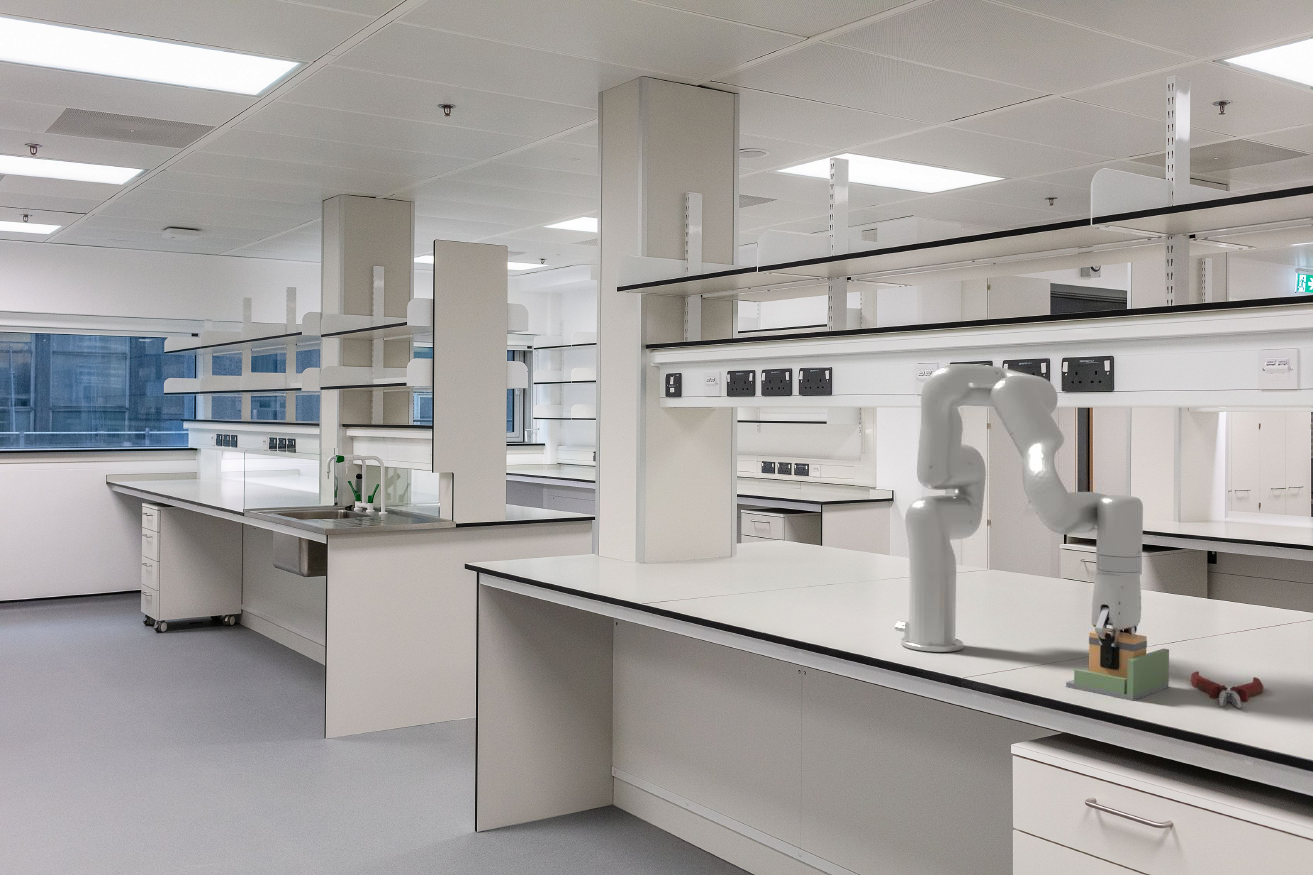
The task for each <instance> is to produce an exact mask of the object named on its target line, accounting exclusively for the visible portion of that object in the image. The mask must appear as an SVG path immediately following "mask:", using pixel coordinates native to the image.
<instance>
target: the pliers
mask: <svg viewBox="0 0 1313 875" xmlns="http://www.w3.org/2000/svg"><path fill="white" fill-rule="evenodd" d="M1190 684H1191V686H1192V687H1193V688H1195V689H1197V690H1199V691H1202V692H1204V693H1206V694H1209V698H1210V699H1218V703H1219V705H1220V708H1221V707H1222V708H1223V707H1224V706H1227V705H1226V704H1227V702H1228V703H1232V706H1234V707H1236V708H1239V709H1241V708H1242V703H1241V702H1243V703H1247V702H1249V698H1253V697H1256V696H1259V695H1261V694H1263V691H1264V685H1263V683H1262V681H1261V680H1260V678H1258V677H1252V682H1249V683H1245V684H1241V685H1237V686H1231V687H1230V688H1229V689H1230V690H1229V689H1228V687H1226V686H1225V685H1222V684H1219V683H1216V682H1214V681H1212V680H1210V679H1207V678H1205V677H1203V676H1202V675H1200V671H1199V670H1198V671H1197V670H1196V671H1193V672H1192V674H1191V676H1190Z"/></svg>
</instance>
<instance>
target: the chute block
mask: <svg viewBox="0 0 1313 875" xmlns="http://www.w3.org/2000/svg"><path fill="white" fill-rule="evenodd" d="M1107 633H1110V635H1111V637H1112V636H1113V633H1112V632H1107ZM1147 637H1148V636H1146V635H1141V634H1136V633H1135V634H1129V633H1123V632H1119V637H1118V643H1117V647H1119V669H1118V670H1113V669H1108V668H1103V667H1101V666H1100V644H1099V640H1100V639H1099V637H1098V635H1097V633H1096V632H1095V630H1094V631H1090V632H1089V636H1088V644H1089V645H1088V646H1089V647H1088V650H1089V651H1088V656H1089V657H1088V671H1090V672H1095V673H1101V674H1106V675H1111V676H1116V677H1121V678H1126V679H1127V665H1128V659H1132V658H1135V657H1138V656H1141V655H1144V654H1147V648H1148V640H1147Z"/></svg>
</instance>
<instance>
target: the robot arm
mask: <svg viewBox="0 0 1313 875" xmlns="http://www.w3.org/2000/svg"><path fill="white" fill-rule="evenodd" d="M920 395H921V396H920V412H921V414H920V430H919V439H918V449H917V450H918V451H917V465H916V476H917V480H918V482H919V483H920V485H922V486H923V487H924V488H926V489H929V490H935V491H936V490H937V491H939V490H940V491H943V490H944V495H941V494H940V495H928V496H923V497H920V498H917V499H916V500H914V501H913V502H911V504H910V505H909V506H908V507H907V509H906V513H905V518H904V523H905V530H906V535H907V541H908V552H909V582H908V583H909V588H908V590H909V594H908V595H909V596H908V598H909V599H908V600H909V601H908V610H909V611H908V621H903V620H898V621H897V623H896V625H895V626H894V630H895V631H896V632H903V633H904V636H903V637H902V638H901V640H900V641H901V642H900V643H901V645H902V646H903V647H905V648H907V649H911V650H916V651H922V652H934V653H949V652H957V651H960V650H962V649H963V648H964V643H963V641H962V640H960V639H959V638H957V637H956V631H957V630H956V620H957V619H956V618H957V614H956V613H957V612H956V611H957V610H956V609H957V561H956V554H955V551H954V549H953V547H952V544H951V541H952V540H961V539H967V538H969V537H972V536H973V535H975V533H977V531H978V529H979V528H980V526H981V523H982V518H983V510H984V508H983V507H984V500H985V499H984V497H985V488H986V479H987V477H986V476H987V468H986V464H985V460H984V458H983V456H982V454H981V453H980V451H978V449H976V448H975V447H973V445H968V444H963V443H962V437H963V432H964V431H963V421H962V417H961V414H960V411H959V407H964V406H965V407H966V406H969V407H989V408H993V409H994V410H995V412H996V414H997V415H998V417H999V419H1000V421H1001V422H1002V424H1003V426H1004V428H1005V429H1006V431H1007V433H1008V435H1009V436H1010V438H1011V440H1012V443H1013V444H1014V446H1015V447H1016V449H1017V452H1018V453H1019V454H1020V456H1021V461H1022V462H1021V476H1022V485H1023V489H1024V493H1025V495H1026V497H1027V499H1028V502H1029V503H1030V505H1031V506H1032V508H1033V510H1034V511H1035V514H1036V515H1037V516H1038V518H1039V519H1040V521H1041V522H1042V524H1043V525H1044V526H1045V527H1046V528H1047V529H1048V530H1050V531H1051V532H1053V533H1055V534H1058V535H1071V534H1072V535H1073V534H1084V533H1095V532H1096V547H1095V548H1096V552H1095V553H1096V554H1095V555H1096V556H1095V557H1096V560H1095V564H1096V565H1095V572H1096V574H1095V577H1094V584H1093V590H1092V591H1093V592H1092V603H1091V616H1090V618H1091V620H1090V622H1091V625H1092V627H1093V628H1094V631H1095V632H1096V633H1097V635H1098V637H1099V639H1100V640H1099V644H1100V666H1101V667H1103V668H1108V669H1113V670H1118V669H1119V647H1117V643H1118V637H1119V632H1123V633H1129V634H1136V633H1137V631H1138V626H1139V624H1140V623H1141V618H1142V617H1141V616H1142V592H1141V591H1142V588H1141V577H1140V576H1141V575H1143V534H1144V533H1143V530H1144V529H1143V527H1144V525H1143V522H1144V521H1143V520H1144V518H1143V517H1144V505H1143V501H1142V500H1141V499H1140V498H1139V497H1136V496H1131V495H1117V494H1116V495H1115V494H1114V495H1113V494H1111V495H1109V494H1108V495H1107V494H1102V493H1099V492H1095V491H1093V492H1092V491H1075V492H1074V491H1073V492H1068V490H1067V489H1066V487H1065V486H1064V483H1063V482H1062V480H1061V478H1060V477H1059V474H1058V472H1057V469H1056V465H1055V456H1056V453H1057V452H1058V451H1059V450H1060V449H1061V448H1062V447H1063V444H1064V443H1065V436H1064V435H1063V432H1062V431H1061V430H1060V428H1059V426H1058V425H1057V423H1056V421H1055V420H1054V418H1053V416H1052V415H1051V414H1053V413H1054V412H1055V410H1056V408H1057V405H1058V402H1059V401H1058V398H1059V397H1058V393H1057V390H1056V387H1055V386H1054V385H1053V384H1052V383H1051V381H1050V380H1048V379H1047V378H1044V377H1042V376H1039V375H1038V376H1037V375H1032V374H1029V373H1025V372H1021V371H1017V370H1012V369H1008V368H1004V367H999V366H994V365H983V364H982V365H980V364H972V363H971V364H970V363H968V364H967V363H956V364H955V363H953V364H947V365H943V366H942V367H939V368H937V369H936V370H934V371H933V372H932V373H930V375H929V376H928V377H927V378H926V380H925V382H924V384H923V386H922V389H921V394H920ZM1108 626H1111V627H1112V628H1109V627H1108ZM1107 632H1112V633H1113V636H1112V637H1111V635H1110V633H1107Z"/></svg>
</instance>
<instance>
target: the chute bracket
mask: <svg viewBox="0 0 1313 875" xmlns="http://www.w3.org/2000/svg"><path fill="white" fill-rule="evenodd" d="M1169 674H1170V649H1169V648H1161V649H1157V650H1155V651H1151V652H1148V653H1146V654H1144V655H1141V656H1138V657H1135V658H1132V659H1128V665H1127V679H1126V678H1121V677H1116V676H1111V675H1106V674H1101V673H1095V672H1090V671H1089V670H1083V669H1079V668H1075V669H1074V671H1073V679H1072V680H1069V681H1065V687H1066V688H1071V689H1074V690H1075V689H1076V690H1080V691H1085V692H1089V693H1095V694H1100V695H1104V696H1108V697H1110V696H1111V697H1114V698H1119V699H1122V700H1123V699H1124V700H1128V701H1129V700H1130V701H1135V700H1138V699H1141V698H1143V697H1146V696H1148V695H1151V694H1154V693H1157V692H1159V691H1163V690H1165V689H1167V688H1170V687H1169V682H1170V680H1169V679H1170V678H1169V677H1170V676H1169Z"/></svg>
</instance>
